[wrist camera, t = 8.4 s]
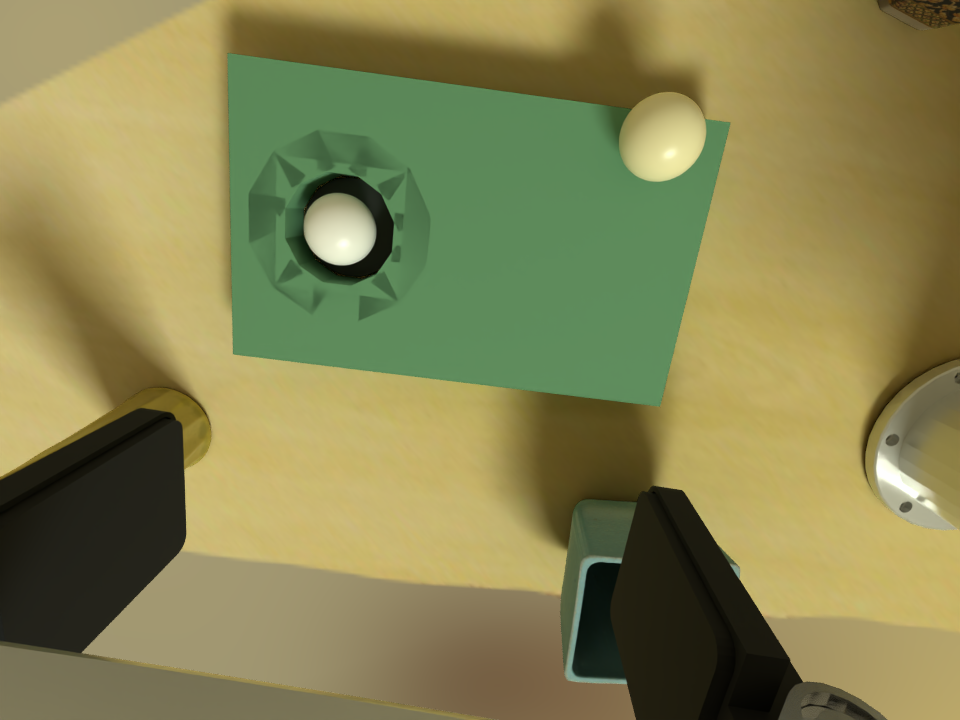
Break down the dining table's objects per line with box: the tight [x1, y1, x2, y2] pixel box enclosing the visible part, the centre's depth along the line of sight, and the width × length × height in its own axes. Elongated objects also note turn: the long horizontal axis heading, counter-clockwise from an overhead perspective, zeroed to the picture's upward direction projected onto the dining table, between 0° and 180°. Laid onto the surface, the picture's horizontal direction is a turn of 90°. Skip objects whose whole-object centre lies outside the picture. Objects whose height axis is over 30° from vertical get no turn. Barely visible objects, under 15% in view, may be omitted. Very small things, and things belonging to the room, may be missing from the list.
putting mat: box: [228, 53, 730, 407], centre depth 29 cm, size 26×16×3 cm, turn 83°
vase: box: [0, 387, 211, 480], centre depth 28 cm, size 6×6×14 cm
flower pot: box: [560, 499, 740, 684], centre depth 32 cm, size 9×9×9 cm
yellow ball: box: [619, 92, 706, 182], centre depth 24 cm, size 4×4×4 cm
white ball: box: [304, 193, 376, 265], centre depth 29 cm, size 4×4×4 cm
